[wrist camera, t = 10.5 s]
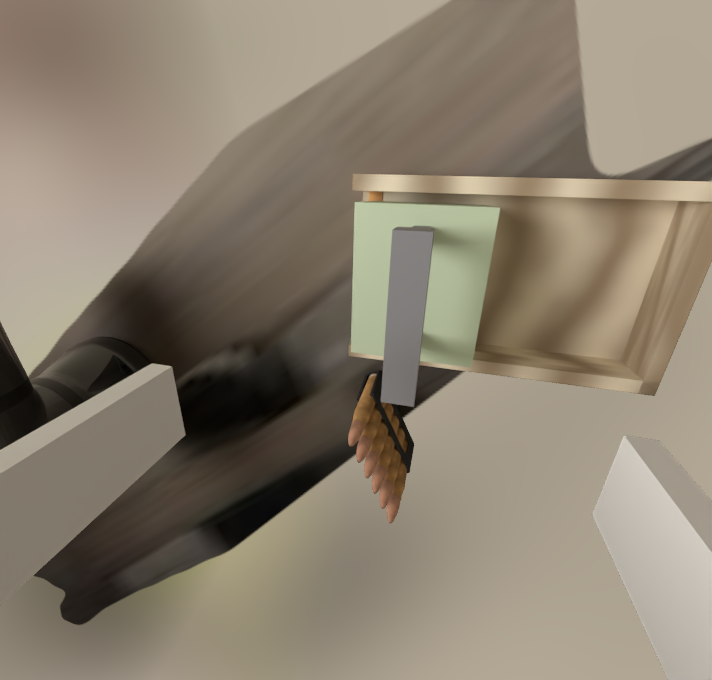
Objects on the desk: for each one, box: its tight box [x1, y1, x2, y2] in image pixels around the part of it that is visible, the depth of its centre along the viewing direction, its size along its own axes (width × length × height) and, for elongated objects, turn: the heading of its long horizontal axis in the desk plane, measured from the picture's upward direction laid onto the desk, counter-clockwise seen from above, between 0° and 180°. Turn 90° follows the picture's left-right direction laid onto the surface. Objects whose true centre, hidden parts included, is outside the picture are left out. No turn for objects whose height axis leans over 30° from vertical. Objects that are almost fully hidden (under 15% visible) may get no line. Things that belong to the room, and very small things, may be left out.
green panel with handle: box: [351, 201, 500, 407], centre depth 26 cm, size 10×12×16 cm
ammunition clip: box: [348, 370, 414, 523], centre depth 36 cm, size 11×2×12 cm, turn 25°
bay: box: [349, 174, 712, 396], centre depth 30 cm, size 26×16×5 cm, turn 88°
